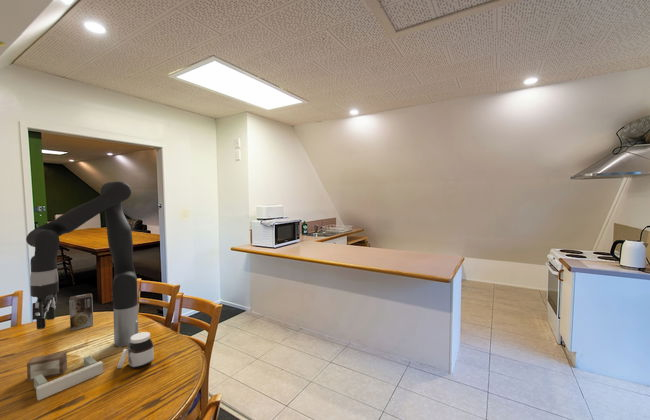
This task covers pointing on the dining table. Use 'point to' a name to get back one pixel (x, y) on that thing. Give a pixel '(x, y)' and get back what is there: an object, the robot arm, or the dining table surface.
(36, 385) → the ledge
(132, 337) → the spread jar
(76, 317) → the coffee box
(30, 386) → the dining table surface
